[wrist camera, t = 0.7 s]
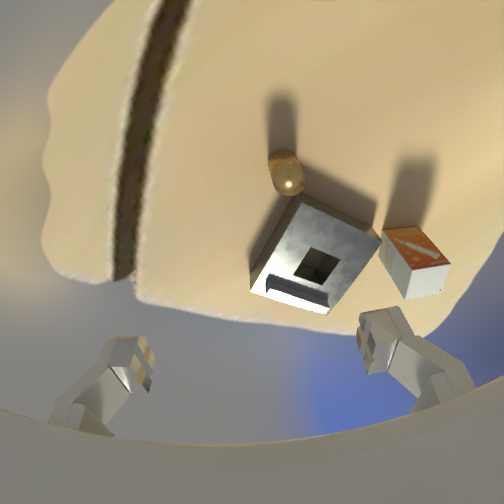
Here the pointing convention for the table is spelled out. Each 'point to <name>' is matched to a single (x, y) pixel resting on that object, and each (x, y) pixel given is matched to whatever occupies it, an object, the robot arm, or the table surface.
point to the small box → (413, 262)
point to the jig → (296, 247)
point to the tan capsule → (286, 173)
